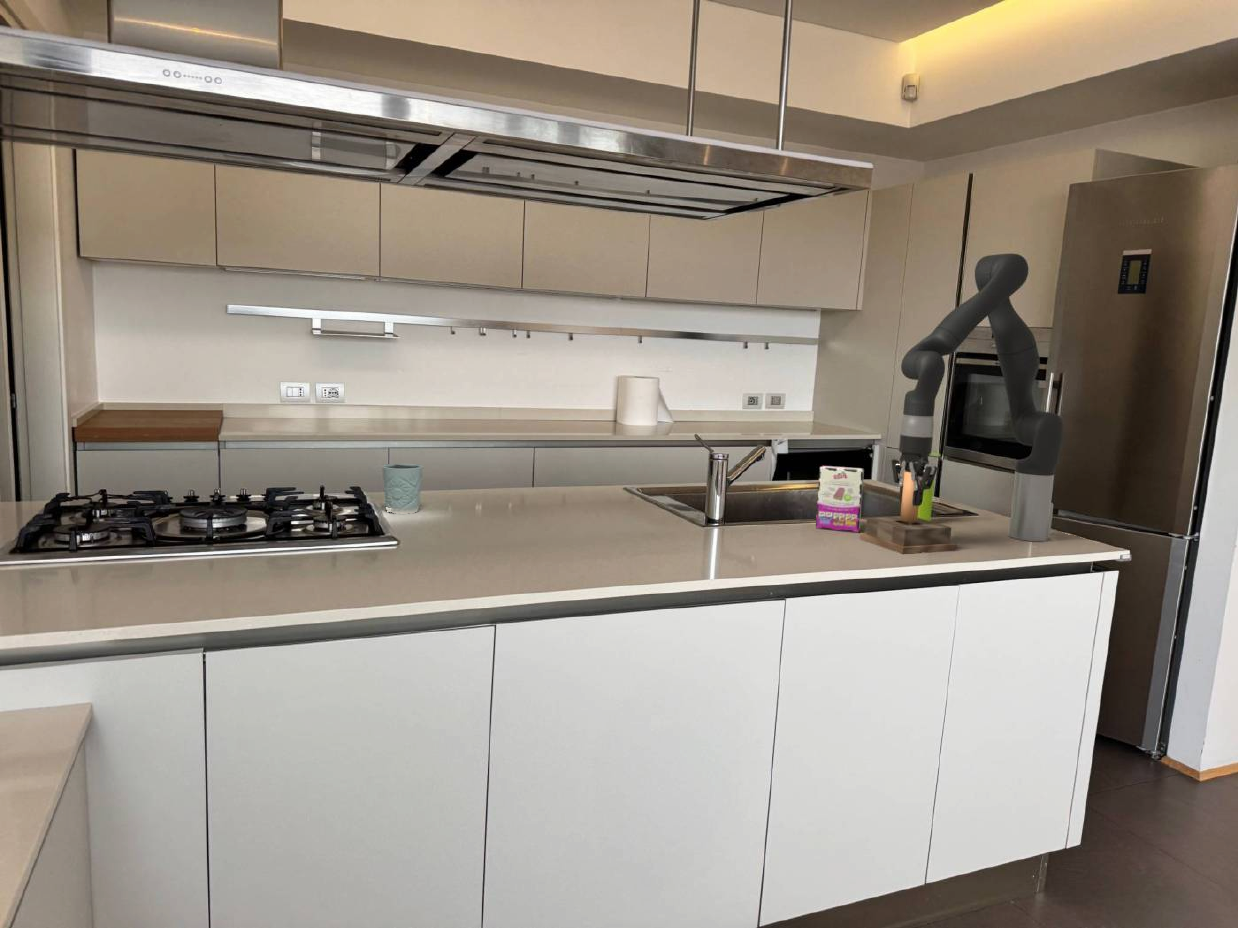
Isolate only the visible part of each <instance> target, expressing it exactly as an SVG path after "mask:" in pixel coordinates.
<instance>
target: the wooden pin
mask: <svg viewBox="0 0 1238 928" xmlns="http://www.w3.org/2000/svg"><path fill="white" fill-rule="evenodd" d="M917 477H921V476H917ZM918 483H919V485H920V481H918ZM913 491H914V483H913V481H912V479H911V473H910V472H904V482H903V493H902V502H901V505H900V520H901V521H904V522H917V519H918V508H919V506H914V505H913V504H912V502H913Z"/></svg>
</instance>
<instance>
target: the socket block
mask: <svg viewBox="0 0 1238 928" xmlns="http://www.w3.org/2000/svg"><path fill="white" fill-rule="evenodd" d="M900 516H901V515H900ZM900 516H883V517H882V516H881V517H866V525H865V532H860V533H859V540H861V541H863V542H864V541H865V542H867V543H870V544H873V545H875V544H876V545H875V546H879V547H881V548H885V549H888V550H890V551H892V552H893V551H894V552H895V551H897V552H896V553H898V552H899V554H901V553H902V555H908V554H907V553H911V554H921V553H920V552H925V553H936V552H937V551H940V552H953V551H956V548H957V544H956V543H953V542H951V537H952V536H951V534H952V527H951V526H948V525H944V524H942V523H938V522H934V521H931V520H930V521H927V520H924V519H920V518H918V519H917V522H904V521H901V520H900ZM935 551H936V552H935ZM937 553H938V552H937Z"/></svg>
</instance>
